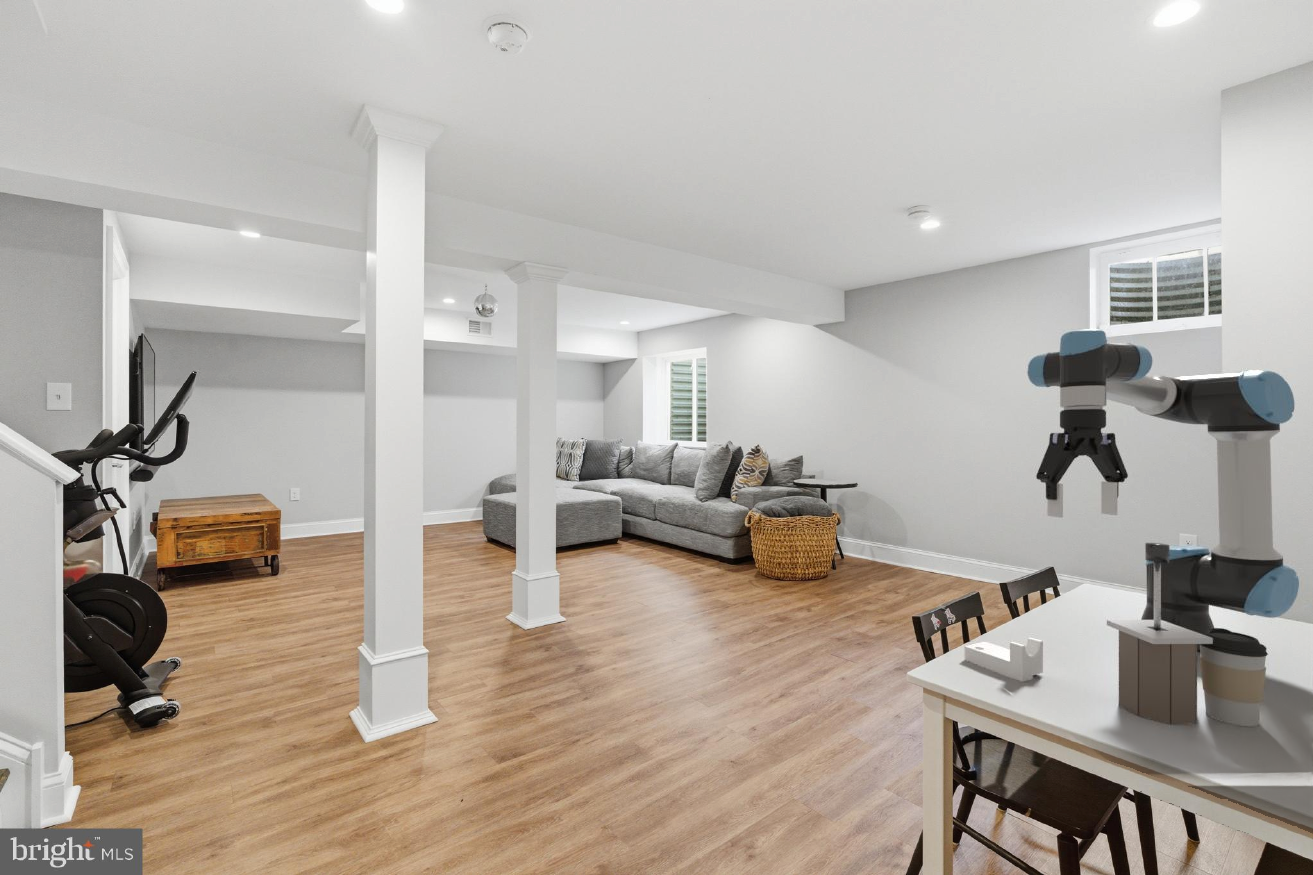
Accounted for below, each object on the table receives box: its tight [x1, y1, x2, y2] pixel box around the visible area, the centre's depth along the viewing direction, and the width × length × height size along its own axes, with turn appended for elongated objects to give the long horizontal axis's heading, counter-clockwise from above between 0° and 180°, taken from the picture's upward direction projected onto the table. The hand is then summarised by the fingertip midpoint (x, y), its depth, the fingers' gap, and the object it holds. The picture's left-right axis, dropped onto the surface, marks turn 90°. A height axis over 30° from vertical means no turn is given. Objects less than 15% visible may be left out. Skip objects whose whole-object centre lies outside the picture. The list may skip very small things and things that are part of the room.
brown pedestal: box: [1106, 619, 1213, 725], centre depth 111 cm, size 11×11×15 cm
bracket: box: [964, 637, 1044, 683], centre depth 131 cm, size 13×7×8 cm, turn 27°
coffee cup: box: [1199, 627, 1269, 727], centre depth 108 cm, size 9×9×15 cm
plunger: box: [1144, 542, 1170, 631], centre depth 111 cm, size 7×7×19 cm
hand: (1082, 515), depth 120 cm, fingers open, 13 cm apart
